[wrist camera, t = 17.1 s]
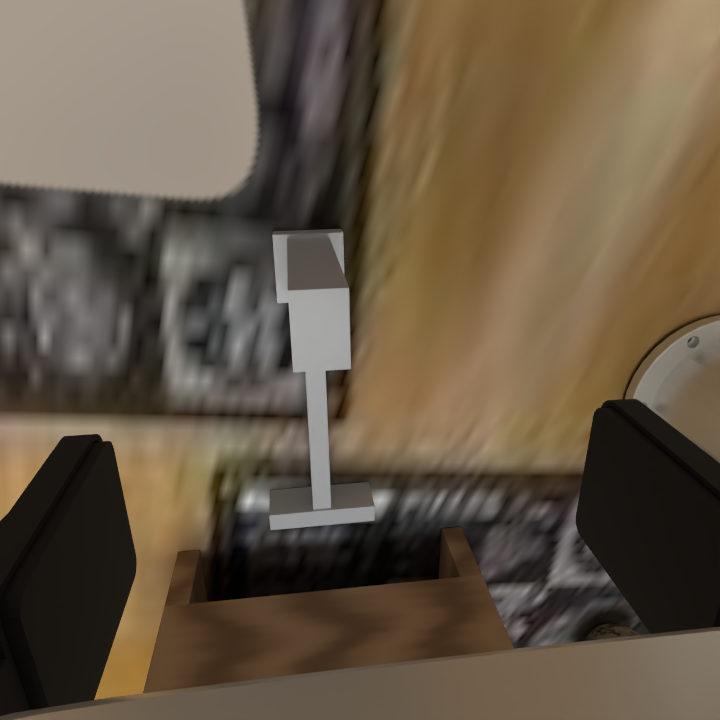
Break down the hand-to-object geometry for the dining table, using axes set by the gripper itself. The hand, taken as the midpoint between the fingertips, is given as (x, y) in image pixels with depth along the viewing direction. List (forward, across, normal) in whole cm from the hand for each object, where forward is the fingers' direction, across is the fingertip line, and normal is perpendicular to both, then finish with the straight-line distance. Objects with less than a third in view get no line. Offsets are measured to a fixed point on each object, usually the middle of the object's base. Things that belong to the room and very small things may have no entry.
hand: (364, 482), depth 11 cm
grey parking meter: (+24, 0, +9) cm, 26 cm away
